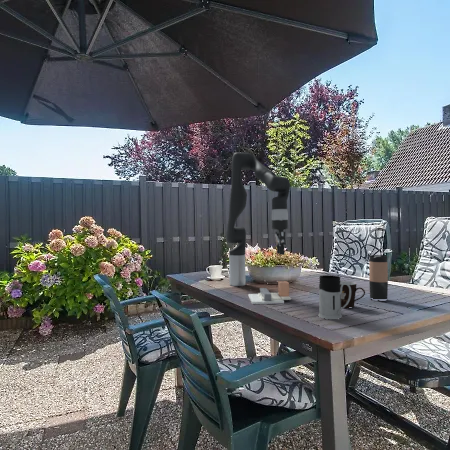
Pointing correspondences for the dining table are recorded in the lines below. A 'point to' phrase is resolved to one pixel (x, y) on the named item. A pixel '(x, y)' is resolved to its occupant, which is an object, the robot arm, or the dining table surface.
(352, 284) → the coffee mug
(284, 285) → the tan block on plate
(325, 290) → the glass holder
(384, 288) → the travel mug
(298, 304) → the dining table surface
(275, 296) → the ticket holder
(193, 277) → the dining table surface
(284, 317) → the dining table surface
